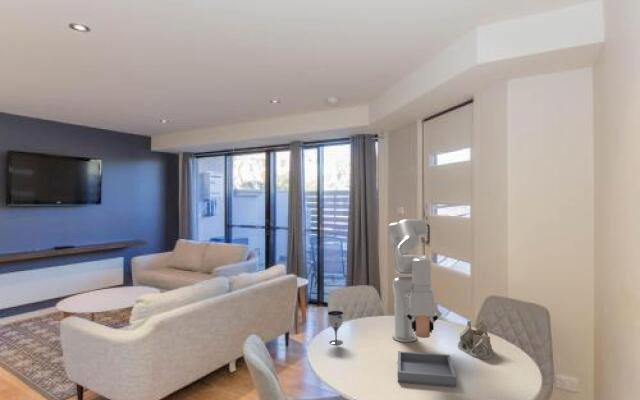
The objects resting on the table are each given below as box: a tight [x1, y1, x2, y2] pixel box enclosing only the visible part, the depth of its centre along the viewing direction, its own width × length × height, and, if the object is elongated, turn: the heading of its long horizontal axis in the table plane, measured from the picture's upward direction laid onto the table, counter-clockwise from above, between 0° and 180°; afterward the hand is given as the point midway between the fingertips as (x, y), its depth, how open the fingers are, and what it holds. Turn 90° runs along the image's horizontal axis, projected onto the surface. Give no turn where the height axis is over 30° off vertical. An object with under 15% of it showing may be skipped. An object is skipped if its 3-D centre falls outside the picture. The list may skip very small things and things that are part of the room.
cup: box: [414, 315, 431, 339], centre depth 151 cm, size 6×6×9 cm
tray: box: [397, 350, 457, 388], centre depth 151 cm, size 20×22×4 cm
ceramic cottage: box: [457, 317, 495, 360], centre depth 171 cm, size 16×16×15 cm
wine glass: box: [327, 310, 344, 346], centre depth 185 cm, size 8×8×15 cm
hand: (422, 330), depth 151 cm, fingers closed on cup, 6 cm apart
